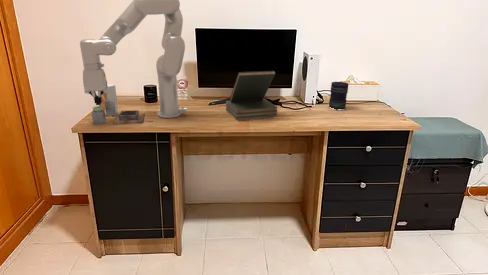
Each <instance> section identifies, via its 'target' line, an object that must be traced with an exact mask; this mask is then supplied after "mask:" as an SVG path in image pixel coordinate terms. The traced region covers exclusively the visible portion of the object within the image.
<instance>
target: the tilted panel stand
mask: <svg viewBox="0 0 488 275" xmlns="http://www.w3.org/2000/svg"><path fill="white" fill-rule="evenodd" d="M275 75H276V72H275V71H274V70H262V71H261V70H260V71H241V72H238V74H237V75H236V76H237V77H236V78H235V81H234V86H233V89H232V92H231V95H230V97H229V100H226V101H225V111H226V112H227V113H228V114H229V115H230V116H231V115H232V116H233V117H234V118H235V119H236V120H243V121H250V120H251V119H255V120H264V118H266V119H275V118H274V117H276V118H277V115H278V113H277V112H278V106H277V105H275V104H274V103H272V102H270V101H268V100H267V98H266V95H267V92H268V90H269V87H270V86H271V83H272V81H273V79H274V77H275ZM232 116H231V117H232ZM233 117H232V118H233ZM234 118H233V119H234ZM235 119H234V120H235ZM236 120H235V121H236Z"/></svg>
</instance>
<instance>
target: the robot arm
mask: <svg viewBox="0 0 488 275" xmlns="http://www.w3.org/2000/svg"><path fill="white" fill-rule="evenodd" d="M180 6H181V3H180V0H132V1H131V2H130V3H129V5H128V6H127V7H126V8H125V10H124V11H123V12H121V14H120V15H119V16H118V18H117V19H116V20H115V21H114V22H113V23H112V25H110V26H109V27H108V29H107V30H106V31H105V32H104V33H103V35H101V37H100V38H99V39H98V40H96V39H92V38H91V39H89V38H86V39H81V40H80V41H79V47H80V53H81V58H82V65H83V70H82V84H83V90H84V94H88V95H91V96H92V98H93V102H94V104H95V106H99V105H100V104H101V103H102V100H101V95H102V94H103V93H106V92H108V88H107V87H108V85H107V84H108V80H107V76H106V73H105V70H104V68H103V67H105V64H104V63H102V62H101V57H100V56H108V57H109V56H112V55H114V54H115V53H116V51H117V45H118V44H119V43H120V42H121V40H123V38H125V37H126V36H127V35H129V34H132V33H133V32H134V31H135V29H137V28H138V27H139V25H140V24H141V23H142V22H143V21H144V19H145V18H146V17H147V16H152V15H156V16H157V15H163V16H164V18H165V20H164V30H163V34H162V39H161V47H162V49H163V50H164V54H162V55H160V56H159V57H157V60H156V73H157V84H158V97H159V98H158V99H159V111H158V112H157V114H156V115H157V116H158V117H159V118H165V119H170V118H171V119H173V118H174V119H175V118H178V117H180V116H181V115H182V112H185V113H186V112H187V111H188V109H187V107H184V106H183V107H180V106H179V100H178V99H179V98H178V97H179V96H178V78H177V76H178V74H179V73H180V72H181V69H182V66H183V60H184V56H185V50H186V44H185V41H184V39H183V37H182V31H183V23H184V22H183V21H184V19H183V15H182V14H183V13H182V10H181V9H180Z"/></svg>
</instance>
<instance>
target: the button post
mask: <svg viewBox="0 0 488 275" xmlns="http://www.w3.org/2000/svg"><path fill="white" fill-rule="evenodd" d="M91 118H92V124H93V125H104V124H105V123H106V121H107V119H106V110H105V109H104V108H103V109H102V110H101V112H95V111H94V110H93V109H92V111H91Z"/></svg>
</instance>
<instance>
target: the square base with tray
mask: <svg viewBox="0 0 488 275" xmlns="http://www.w3.org/2000/svg"><path fill="white" fill-rule="evenodd" d="M139 112H140V111H139V110H134V109H133V110H121V111H120V113H118V114H117V115H116V116H114V117H115V118H114V120H113V122H112V124H113V125H127V124H128V125H129V124H130V125H133V124H134V125H135V124H138V125H139V124H143V123H144V119H145V116H146V114H145V112H141V113H139Z"/></svg>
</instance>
